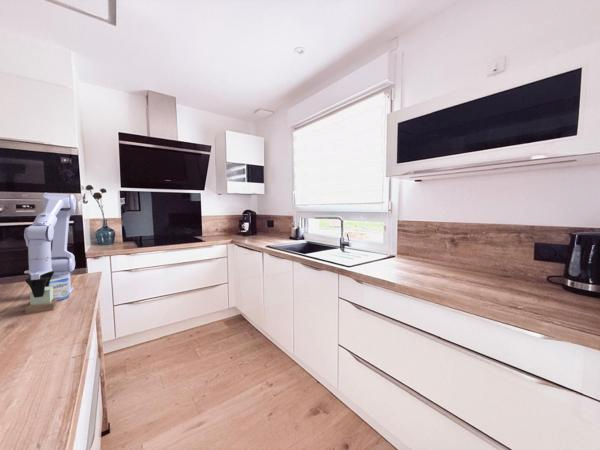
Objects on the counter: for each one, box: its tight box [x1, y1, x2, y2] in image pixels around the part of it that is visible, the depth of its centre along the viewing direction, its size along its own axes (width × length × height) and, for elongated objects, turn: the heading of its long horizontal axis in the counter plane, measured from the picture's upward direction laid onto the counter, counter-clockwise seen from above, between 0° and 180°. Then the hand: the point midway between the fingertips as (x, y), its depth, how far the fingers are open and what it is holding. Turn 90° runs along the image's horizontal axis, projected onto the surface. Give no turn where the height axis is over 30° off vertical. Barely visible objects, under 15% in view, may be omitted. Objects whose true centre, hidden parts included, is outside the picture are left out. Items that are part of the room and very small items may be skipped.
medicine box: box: [49, 277, 70, 303], centre depth 99 cm, size 8×4×9 cm, turn 168°
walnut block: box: [25, 298, 57, 315], centre depth 91 cm, size 7×7×3 cm
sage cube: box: [29, 286, 53, 306], centre depth 91 cm, size 5×5×5 cm
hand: (41, 294), depth 90 cm, fingers open, 6 cm apart
